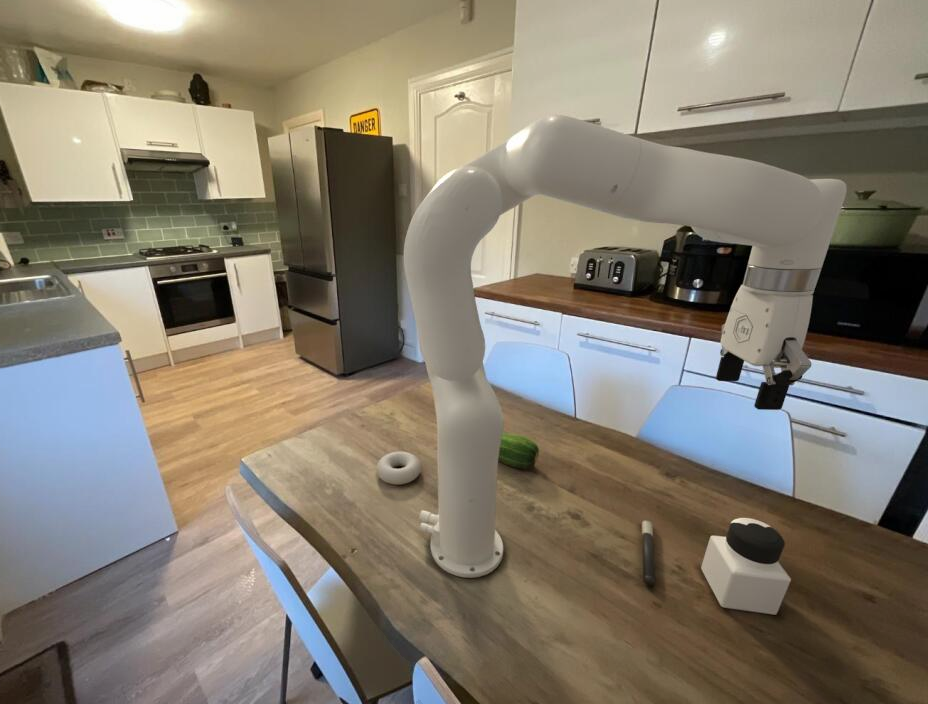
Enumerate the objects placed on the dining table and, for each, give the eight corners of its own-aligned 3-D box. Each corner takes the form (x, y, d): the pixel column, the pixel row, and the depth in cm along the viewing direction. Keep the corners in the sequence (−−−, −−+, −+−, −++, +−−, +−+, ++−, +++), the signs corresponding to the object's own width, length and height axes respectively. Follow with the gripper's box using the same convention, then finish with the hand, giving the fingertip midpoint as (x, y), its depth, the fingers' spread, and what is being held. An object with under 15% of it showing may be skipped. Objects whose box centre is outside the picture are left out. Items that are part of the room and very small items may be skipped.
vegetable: (534, 442, 86) (457, 415, 98) (526, 475, 86) (449, 444, 98) (546, 442, 92) (472, 417, 104) (538, 473, 92) (465, 444, 104)
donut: (388, 457, 98) (369, 482, 89) (388, 445, 96) (367, 468, 88) (427, 466, 94) (411, 492, 85) (427, 453, 93) (410, 478, 84)
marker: (653, 590, 62) (657, 583, 62) (641, 584, 63) (645, 577, 62) (650, 529, 74) (654, 523, 73) (640, 525, 74) (643, 518, 73)
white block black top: (777, 616, 58) (804, 552, 53) (720, 608, 59) (742, 545, 55) (750, 574, 64) (772, 514, 60) (699, 568, 66) (717, 509, 61)
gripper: (713, 270, 63) (690, 371, 70) (795, 293, 47) (755, 421, 54) (766, 269, 62) (737, 371, 69) (867, 292, 46) (818, 423, 53)
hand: (745, 393), depth 61 cm, fingers open, 9 cm apart
